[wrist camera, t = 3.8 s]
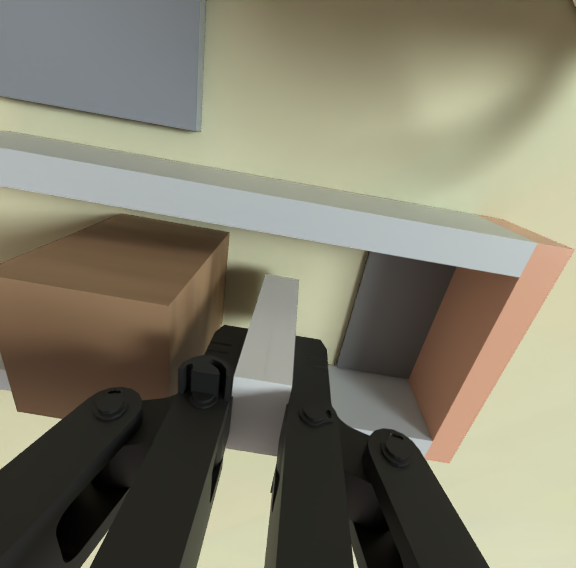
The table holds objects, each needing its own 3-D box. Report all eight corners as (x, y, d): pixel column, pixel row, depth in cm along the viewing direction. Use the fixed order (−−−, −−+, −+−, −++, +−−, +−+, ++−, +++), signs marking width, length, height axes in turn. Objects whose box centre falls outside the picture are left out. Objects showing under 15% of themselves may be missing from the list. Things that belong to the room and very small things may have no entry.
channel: (10, 131, 13) (-103, 129, 10) (503, 219, 14) (574, 249, 10) (50, 335, 18) (-16, 386, 14) (420, 397, 18) (449, 463, 14)
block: (122, 213, 14) (-23, 273, 8) (229, 232, 15) (168, 305, 8) (128, 306, 17) (17, 411, 10) (222, 322, 17) (168, 436, 10)
